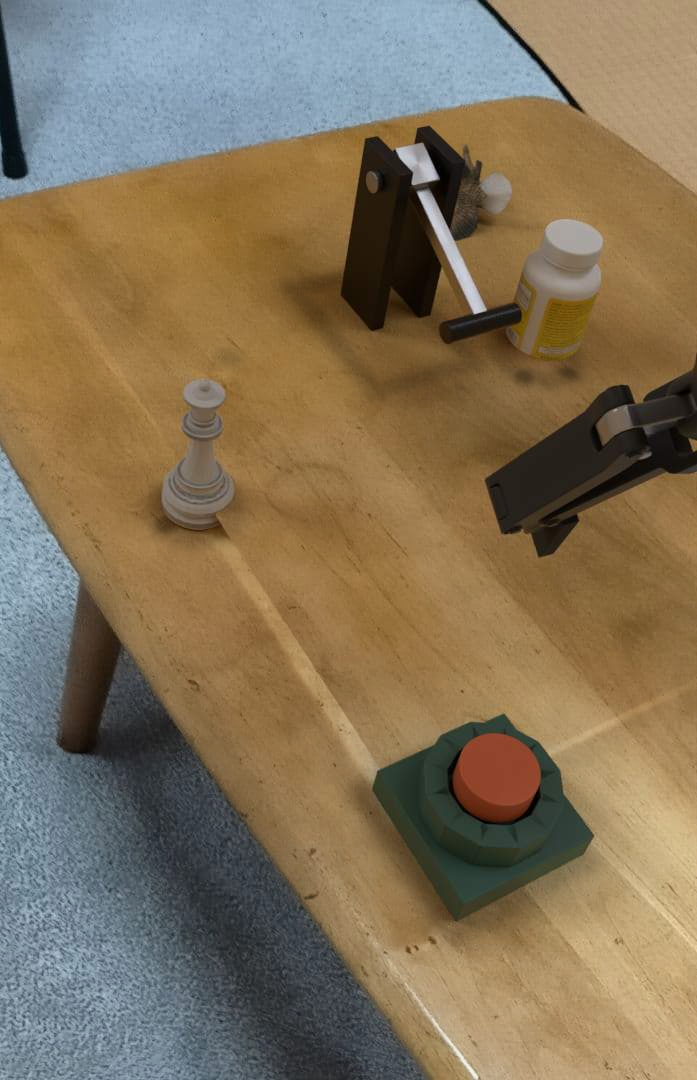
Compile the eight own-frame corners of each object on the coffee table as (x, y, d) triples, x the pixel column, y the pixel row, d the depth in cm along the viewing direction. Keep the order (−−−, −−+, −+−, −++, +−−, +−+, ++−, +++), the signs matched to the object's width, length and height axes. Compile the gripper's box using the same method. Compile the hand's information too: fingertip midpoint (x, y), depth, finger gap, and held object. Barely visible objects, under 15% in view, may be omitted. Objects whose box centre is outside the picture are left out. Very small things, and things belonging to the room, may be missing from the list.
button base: (496, 732, 67) (513, 691, 64) (584, 854, 63) (607, 816, 60) (370, 790, 64) (382, 749, 61) (455, 922, 60) (472, 885, 57)
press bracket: (473, 357, 88) (519, 189, 78) (378, 385, 84) (412, 214, 74) (386, 259, 94) (417, 92, 84) (294, 282, 91) (315, 111, 80)
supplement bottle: (588, 350, 90) (629, 238, 83) (550, 385, 87) (589, 272, 80) (526, 315, 92) (560, 202, 84) (487, 348, 89) (519, 234, 81)
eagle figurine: (433, 169, 101) (357, 183, 95) (493, 123, 96) (415, 135, 90) (472, 254, 101) (398, 274, 95) (534, 213, 96) (459, 231, 90)
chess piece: (156, 480, 76) (159, 356, 69) (227, 475, 77) (238, 352, 70) (166, 534, 73) (170, 410, 66) (239, 528, 74) (251, 406, 67)
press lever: (511, 331, 81) (528, 314, 79) (442, 351, 78) (457, 334, 76) (429, 158, 83) (444, 137, 81) (359, 173, 80) (372, 152, 78)
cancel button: (502, 739, 63) (510, 720, 61) (548, 803, 61) (557, 785, 59) (436, 770, 61) (443, 751, 60) (482, 836, 59) (489, 818, 58)
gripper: (509, 526, 38) (447, 633, 59) (1245, 330, 40) (934, 501, 61) (441, 309, 40) (404, 487, 61) (1150, 129, 42) (879, 362, 62)
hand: (669, 494), depth 61 cm, fingers open, 13 cm apart
